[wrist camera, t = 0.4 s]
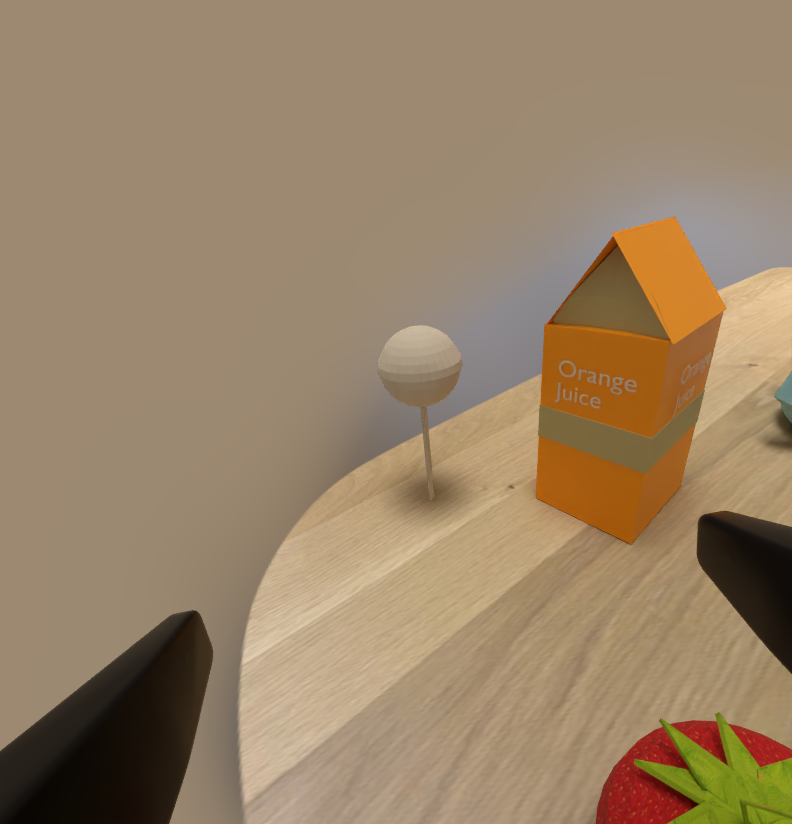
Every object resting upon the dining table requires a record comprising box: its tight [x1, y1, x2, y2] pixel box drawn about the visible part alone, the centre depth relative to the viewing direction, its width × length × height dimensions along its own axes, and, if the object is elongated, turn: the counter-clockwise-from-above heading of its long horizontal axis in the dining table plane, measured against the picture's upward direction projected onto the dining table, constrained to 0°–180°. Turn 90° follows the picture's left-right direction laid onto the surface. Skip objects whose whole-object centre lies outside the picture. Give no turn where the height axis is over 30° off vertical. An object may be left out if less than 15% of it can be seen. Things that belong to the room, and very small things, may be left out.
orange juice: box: [536, 217, 727, 544], centre depth 29 cm, size 8×9×20 cm
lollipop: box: [377, 326, 463, 500], centre depth 32 cm, size 6×6×15 cm
